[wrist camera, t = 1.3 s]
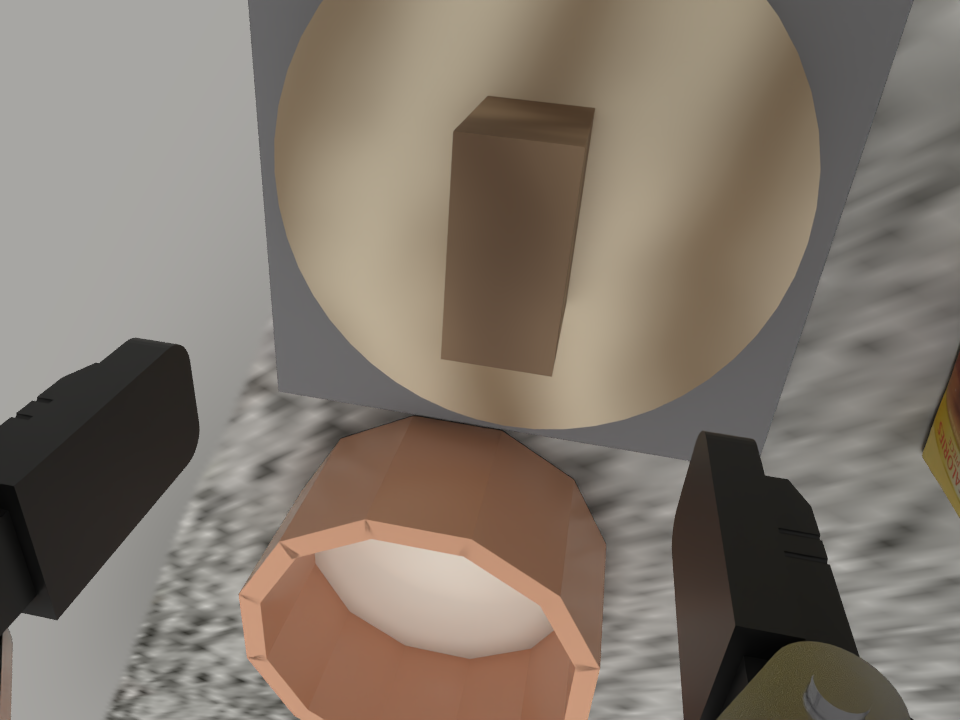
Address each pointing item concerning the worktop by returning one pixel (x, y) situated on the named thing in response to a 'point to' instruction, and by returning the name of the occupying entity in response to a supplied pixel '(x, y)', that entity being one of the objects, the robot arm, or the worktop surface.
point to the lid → (547, 194)
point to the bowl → (431, 583)
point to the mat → (713, 404)
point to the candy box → (947, 441)
